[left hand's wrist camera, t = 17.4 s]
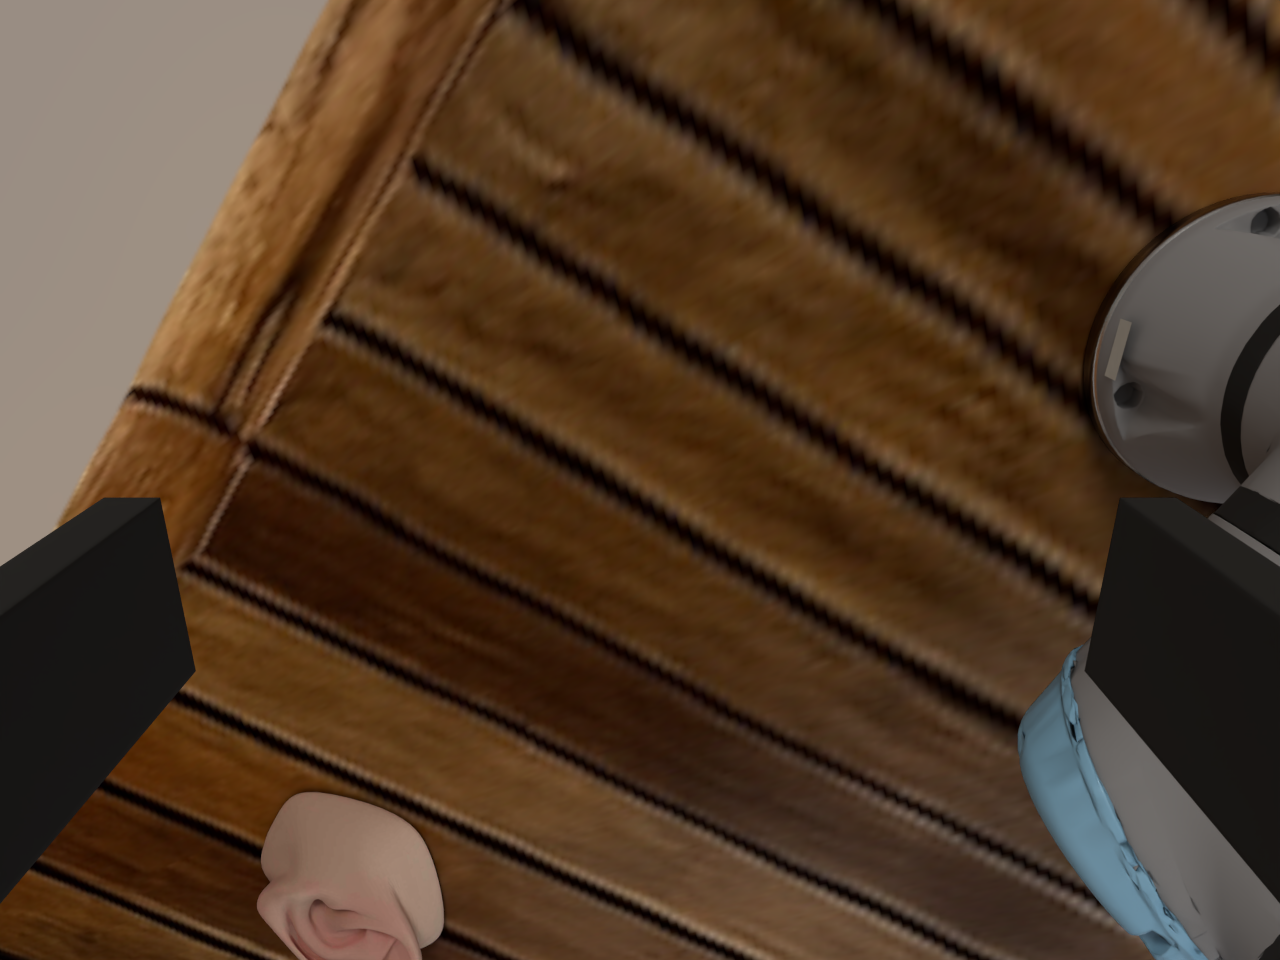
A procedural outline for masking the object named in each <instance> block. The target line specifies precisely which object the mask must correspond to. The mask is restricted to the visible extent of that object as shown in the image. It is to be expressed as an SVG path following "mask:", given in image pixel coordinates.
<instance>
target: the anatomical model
mask: <svg viewBox="0 0 1280 960" xmlns="http://www.w3.org/2000/svg"><path fill="white" fill-rule="evenodd" d="M261 864H262V869H263V871H264V873H265V875H266V876H267V878H268V879H269V881H270V883H269V884H268V885H267V887H266V888H265V889H264V890H263V891H262V893H261V894H260V896H259V898H258V901H257V909H258V911H259V914H260V915H261V916H262V918H263V919H264V920H265V921H266V923H267V924H268V925H269V926H270V927H271V928H272V929H273V931H274V932H275V933H276V934H277V935H278V936H279V937H280V939H281V940H282V941H283V942H284V943H285V944H286V945H287V946H288V948H289V949H290V950H291V951H292V952H293V953H294V954H295V955H296V956H297V957H298V958H299V959H300V960H422V955H421V950H420V948H423V947H426V946H427V945H429V944H431V943H432V942H434V941H435V940H436V939H437V938H438V937H439V935H440V934H441V932H442V929H443V924H444V908H443V901H442V895H441V890H440V885H439V881H438V877H437V873H436V870H435V867H434V864H433V861H432V858H431V855H430V853H429V851H428V848H427V846H426V844H425V842H424V840H423V839H422V837H421V836H420V834H419V833H418V832H417V831H416V830H415V829H414V828H413V827H412V826H411V825H410V824H409V823H408V822H406V821H405V820H404V819H402V818H400V817H399V816H397V815H395V814H393V813H391V812H389V811H387V810H385V809H382V808H380V807H377V806H374V805H372V804H369V803H366V802H362V801H358V800H355V799H351V798H347V797H343V796H338V795H333V794H326V793H320V792H304V793H300V794H297V795H294V796H292V797H291V798H290V799H289V800H288V801H287V802H286V803H285V804H284V805H283V807H282V808H281V810H280V811H279V813H278V815H277V816H276V818H275V820H274V822H273V824H272V826H271V828H270V830H269V832H268V834H267V837H266V840H265V843H264V847H263V851H262V855H261Z"/></svg>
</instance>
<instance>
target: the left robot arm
mask: <svg viewBox="0 0 1280 960" xmlns="http://www.w3.org/2000/svg"><path fill="white" fill-rule="evenodd" d="M1084 390H1085V397H1086V403H1087V407H1088V410H1089V414H1090V417H1091V419H1092V422H1093V424H1094V427H1095V429H1096V430H1097V432H1098V434H1099V436H1100V438H1101V439H1102V441H1103V442H1104V444H1105V445H1106V446H1107V448H1108V449H1109V450H1110V451H1111V452H1112V453H1113V454H1114V456H1115V457H1116V458H1117V459H1119V460H1120V461H1121V462H1122V463H1123V464H1124V465H1125V466H1127V467H1128V468H1130V469H1131V470H1133V471H1134V472H1136V473H1137V474H1139V475H1140V476H1142V477H1143V478H1145V479H1146V480H1148V481H1150V482H1151V483H1153V484H1155V485H1157V486H1159V487H1161V488H1164V489H1166V490H1169V491H1171V492H1174V493H1177V494H1179V495H1182V496H1185V497H1188V498H1192V499H1196V500H1201V501H1207V502H1215V503H1223V504H1222V505H1221V506H1220V507H1219V508H1218V510H1217V511H1216V512H1214V513H1213V514H1211V515H1210V516H1209V517H1208V519H1207V518H1206V517H1204V516H1203V515H1201V514H1200V513H1198V512H1197V511H1195V510H1194V509H1192V508H1191V507H1189V506H1188V505H1186V504H1185V503H1183V502H1182V501H1180V500H1179V499H1177V498H1120V500H1119V505H1118V510H1117V515H1116V519H1115V524H1114V529H1113V534H1112V539H1111V544H1110V549H1109V554H1108V558H1107V563H1106V568H1105V573H1104V578H1103V583H1102V588H1101V592H1100V597H1099V602H1098V607H1097V612H1096V617H1095V622H1094V627H1093V631H1092V636H1091V638H1090V639H1089V640H1088V641H1087V642H1086V643H1085V644H1084V645H1081V646H1080V647H1077V648H1075V649H1073V651H1071V652H1070V653H1069V655H1068V656H1067V657H1066V659H1065V662H1064V664H1063V666H1062V670H1061V672H1060V673H1059V674H1058V675H1057V676H1056V678H1055V679H1054V680H1053V681H1052V682H1051V683H1050V684H1049V686H1048V687H1047V688H1046V689H1045V690H1044V691H1043V692H1042V694H1041V695H1040V696H1039V697H1038V698H1037V699H1036V700H1035V702H1034V703H1033V704H1032V705H1031V706H1030V707H1029V709H1028V710H1027V711H1026V713H1025V715H1024V717H1023V718H1022V721H1021V724H1020V727H1019V731H1018V753H1019V756H1020V767H1021V772H1022V775H1023V778H1024V781H1025V784H1026V786H1027V789H1028V792H1029V794H1030V796H1031V799H1032V801H1033V803H1034V805H1035V807H1036V809H1037V811H1038V813H1039V815H1040V816H1041V818H1042V820H1043V822H1044V824H1045V825H1046V827H1047V829H1048V831H1049V832H1050V834H1051V836H1052V837H1053V839H1054V840H1055V842H1056V844H1057V845H1058V847H1059V848H1060V850H1061V851H1062V853H1063V854H1064V856H1065V857H1066V859H1067V860H1068V861H1069V863H1070V864H1071V866H1072V867H1073V868H1074V870H1075V871H1076V873H1077V874H1078V875H1079V877H1080V878H1081V879H1082V881H1083V882H1084V883H1085V885H1086V886H1087V887H1088V888H1089V890H1090V891H1091V892H1092V893H1093V895H1094V896H1095V897H1096V898H1097V900H1098V901H1099V902H1100V903H1101V904H1102V905H1103V907H1104V908H1105V909H1106V910H1107V911H1108V912H1109V914H1110V915H1111V916H1112V917H1113V918H1114V919H1115V920H1116V921H1117V922H1118V923H1119V925H1120V926H1121V927H1123V928H1124V929H1125V930H1126V931H1127V932H1128V933H1129V934H1131V935H1138V936H1139V937H1140V938H1141V940H1142V941H1143V942H1144V944H1145V945H1146V947H1147V948H1148V950H1149V951H1150V953H1151V954H1152V956H1153V957H1154V958H1155V959H1156V960H1280V193H1258V194H1249V195H1244V196H1239V197H1234V198H1230V199H1227V200H1224V201H1221V202H1218V203H1215V204H1212V205H1210V206H1207V207H1205V208H1202V209H1200V210H1198V211H1196V212H1194V213H1192V214H1190V215H1188V216H1186V217H1184V218H1183V219H1181V220H1180V221H1178V222H1176V223H1175V224H1173V225H1172V226H1170V227H1169V228H1167V229H1166V230H1165V231H1163V232H1162V233H1161V234H1159V235H1158V236H1157V237H1155V238H1154V239H1153V240H1152V241H1151V242H1150V243H1149V244H1147V245H1146V246H1145V247H1144V248H1143V249H1142V250H1141V251H1140V252H1139V253H1138V254H1137V255H1136V256H1135V257H1134V258H1133V259H1132V260H1131V261H1130V263H1129V264H1128V265H1127V266H1126V268H1125V269H1124V270H1123V271H1122V272H1121V274H1120V275H1119V276H1118V278H1117V279H1116V281H1115V282H1114V284H1113V285H1112V287H1111V288H1110V290H1109V292H1108V293H1107V295H1106V297H1105V299H1104V300H1103V302H1102V304H1101V306H1100V309H1099V311H1098V313H1097V315H1096V317H1095V320H1094V323H1093V326H1092V328H1091V331H1090V335H1089V339H1088V343H1087V347H1086V354H1085V360H1084ZM195 671H196V670H195V665H194V661H193V656H192V651H191V646H190V641H189V636H188V631H187V627H186V622H185V617H184V612H183V607H182V602H181V597H180V592H179V588H178V583H177V578H176V573H175V568H174V563H173V558H172V554H171V549H170V544H169V539H168V534H167V529H166V524H165V519H164V515H163V510H162V505H161V500H160V498H103V499H101V500H100V501H98V502H97V503H95V504H94V505H92V506H91V507H89V508H88V509H86V510H85V511H83V512H82V513H80V514H79V515H77V516H76V517H74V518H73V519H71V520H70V521H68V522H67V523H65V524H64V525H62V526H61V527H59V528H58V529H56V530H55V531H53V532H52V533H50V534H49V535H47V536H46V537H44V538H43V539H41V540H40V541H38V542H36V543H35V544H34V545H32V546H30V547H29V548H27V549H26V550H24V551H23V552H21V553H20V554H18V555H17V556H15V557H14V558H12V559H11V560H9V561H8V562H6V563H5V564H3V565H2V566H0V903H1V902H2V901H3V900H4V898H5V897H6V896H7V895H8V894H9V892H10V891H11V890H12V889H13V888H14V886H15V885H16V884H17V883H18V882H19V881H20V879H21V878H22V877H23V876H24V875H25V873H26V872H27V871H28V870H29V869H30V867H31V866H32V865H33V864H34V863H35V862H36V860H37V859H38V858H39V857H40V856H41V854H42V853H43V852H44V851H45V850H46V848H47V847H48V846H49V845H50V844H51V842H52V841H53V840H54V839H55V838H56V837H57V835H58V834H59V833H60V832H61V831H62V829H63V828H64V827H65V826H66V825H67V823H68V822H69V821H70V820H71V819H72V817H73V816H74V815H75V814H76V813H77V812H78V810H79V809H80V808H81V807H82V806H83V804H84V803H85V802H86V801H87V800H88V798H89V797H90V796H91V795H92V794H93V793H94V791H95V790H96V789H97V788H98V787H99V785H100V784H101V783H102V782H103V781H104V779H105V778H106V777H107V776H108V775H109V773H110V772H111V771H112V770H113V769H114V768H115V766H116V765H117V764H118V763H119V762H120V760H121V759H122V758H123V757H124V756H125V754H126V753H127V752H128V751H129V750H130V748H131V747H132V746H133V745H134V744H135V743H136V741H137V740H138V739H139V738H140V737H141V735H142V734H143V733H144V732H145V731H146V729H147V728H148V727H149V726H150V725H151V724H152V722H153V721H154V720H155V719H156V718H157V716H158V715H159V714H160V713H161V712H162V710H163V709H164V708H165V707H166V706H167V704H168V703H169V702H170V701H171V700H172V699H173V697H174V696H175V695H176V694H177V693H178V691H179V690H180V689H181V688H182V687H183V685H184V684H185V683H186V682H187V681H188V679H189V678H190V677H191V676H192V675H193V674H194V672H195Z"/></svg>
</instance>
